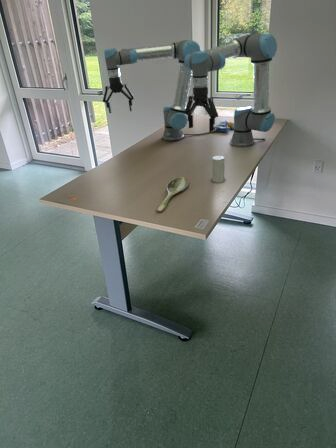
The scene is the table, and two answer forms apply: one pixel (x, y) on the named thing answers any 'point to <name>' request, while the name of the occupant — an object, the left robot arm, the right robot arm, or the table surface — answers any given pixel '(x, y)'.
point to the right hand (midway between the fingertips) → (201, 129)
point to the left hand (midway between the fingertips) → (120, 111)
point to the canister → (218, 169)
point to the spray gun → (223, 126)
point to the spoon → (174, 190)
